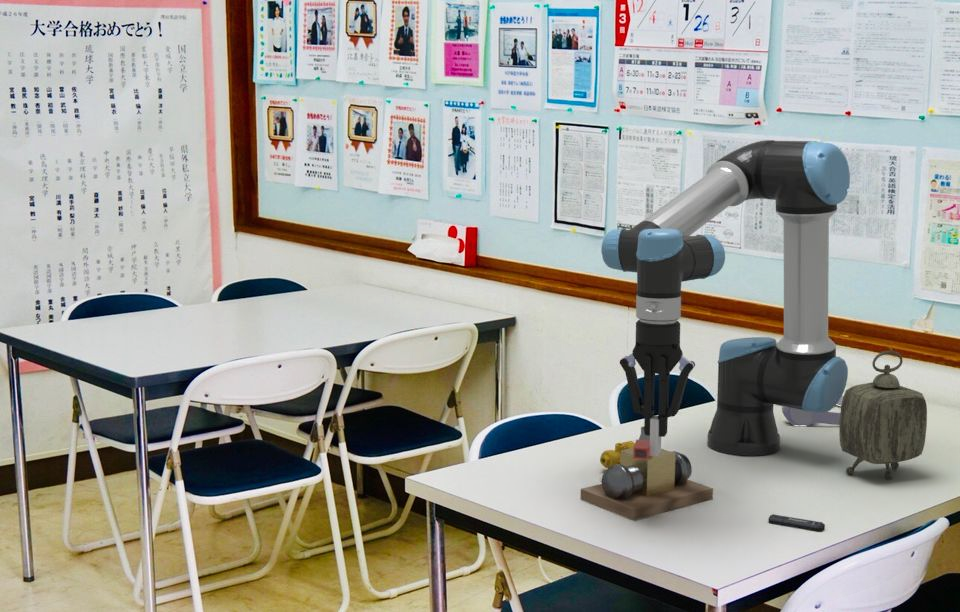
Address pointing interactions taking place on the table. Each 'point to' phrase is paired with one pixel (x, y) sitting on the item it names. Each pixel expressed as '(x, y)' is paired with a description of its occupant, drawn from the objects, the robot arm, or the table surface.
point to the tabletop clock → (883, 421)
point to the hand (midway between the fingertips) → (655, 453)
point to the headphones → (811, 416)
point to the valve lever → (642, 446)
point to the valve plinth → (648, 500)
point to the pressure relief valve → (615, 454)
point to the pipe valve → (646, 474)
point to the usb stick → (796, 523)
